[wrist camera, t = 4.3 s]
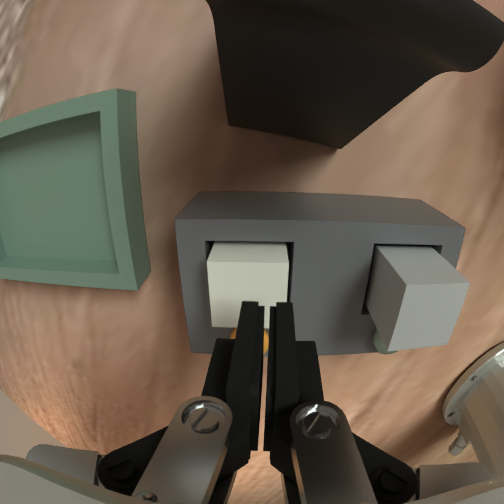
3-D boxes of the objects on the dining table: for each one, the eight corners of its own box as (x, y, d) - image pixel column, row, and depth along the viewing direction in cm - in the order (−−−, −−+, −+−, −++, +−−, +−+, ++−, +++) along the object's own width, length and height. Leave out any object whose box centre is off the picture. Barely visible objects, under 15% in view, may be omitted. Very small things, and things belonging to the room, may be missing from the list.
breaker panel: (400, 300, 19) (433, 353, 14) (206, 300, 19) (188, 360, 14) (420, 199, 16) (472, 232, 11) (199, 192, 17) (170, 224, 11)
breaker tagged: (281, 286, 16) (284, 328, 12) (222, 285, 16) (212, 326, 12) (283, 230, 14) (288, 263, 11) (219, 229, 14) (207, 261, 11)
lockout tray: (150, 271, 19) (137, 290, 17) (7, 264, 19) (-10, 277, 17) (135, 91, 14) (117, 88, 12) (-15, 133, 15) (-37, 138, 13)
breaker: (417, 301, 14) (447, 344, 11) (365, 303, 14) (387, 351, 11) (431, 246, 13) (470, 282, 9) (375, 245, 13) (406, 284, 9)
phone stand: (261, -19, 12) (253, -173, 1) (367, 7, 12) (487, -97, 1) (228, 125, 15) (138, 129, 4) (338, 149, 15) (480, 214, 4)
